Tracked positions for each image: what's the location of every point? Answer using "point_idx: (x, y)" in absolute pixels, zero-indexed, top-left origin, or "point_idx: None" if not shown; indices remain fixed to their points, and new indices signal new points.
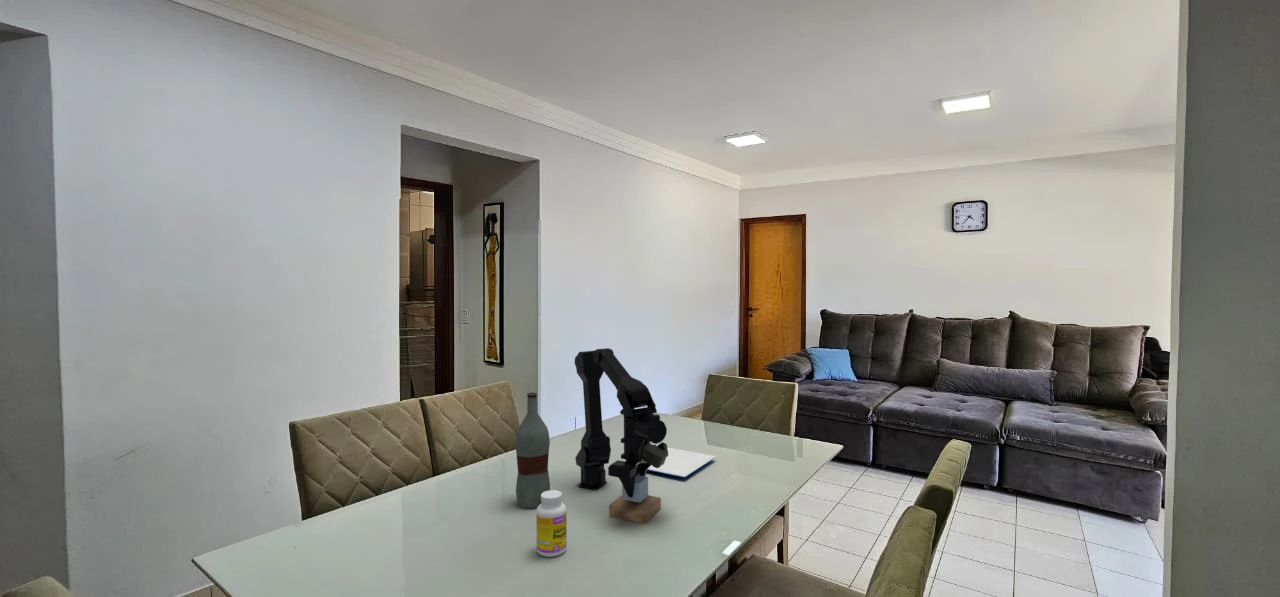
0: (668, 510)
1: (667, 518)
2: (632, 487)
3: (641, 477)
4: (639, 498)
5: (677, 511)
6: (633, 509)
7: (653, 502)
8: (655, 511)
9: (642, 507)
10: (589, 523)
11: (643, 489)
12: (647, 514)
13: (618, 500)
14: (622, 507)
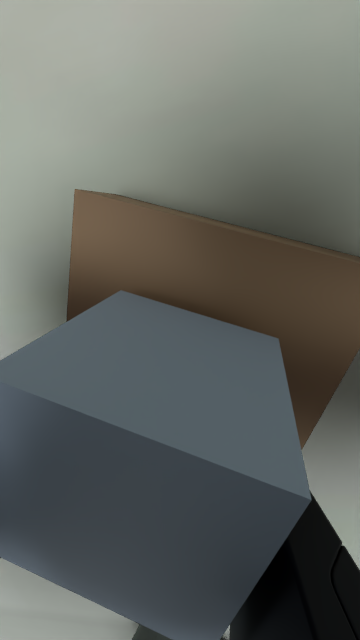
0: (125, 133)
1: (255, 104)
2: (331, 527)
3: (43, 461)
4: (280, 358)
5: (123, 53)
6: (341, 365)
7: (183, 230)
8: (189, 214)
9: (298, 304)
10: (353, 517)
11: (187, 357)
12: (324, 251)
13: None
14: (307, 435)
